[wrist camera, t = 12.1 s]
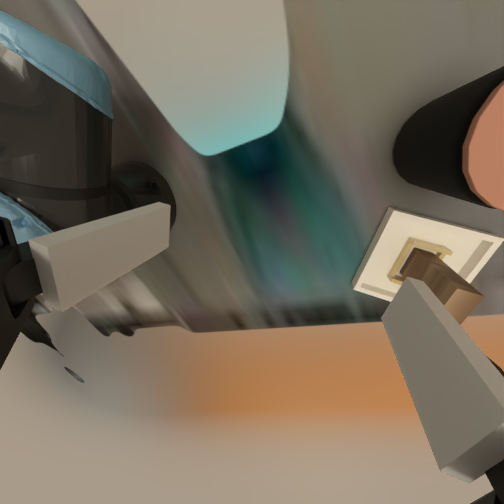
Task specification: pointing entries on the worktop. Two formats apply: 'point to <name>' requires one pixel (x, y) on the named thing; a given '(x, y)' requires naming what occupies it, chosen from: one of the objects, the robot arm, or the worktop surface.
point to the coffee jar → (458, 143)
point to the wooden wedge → (442, 283)
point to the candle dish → (423, 237)
